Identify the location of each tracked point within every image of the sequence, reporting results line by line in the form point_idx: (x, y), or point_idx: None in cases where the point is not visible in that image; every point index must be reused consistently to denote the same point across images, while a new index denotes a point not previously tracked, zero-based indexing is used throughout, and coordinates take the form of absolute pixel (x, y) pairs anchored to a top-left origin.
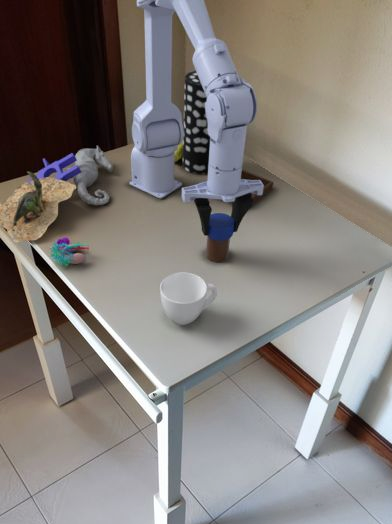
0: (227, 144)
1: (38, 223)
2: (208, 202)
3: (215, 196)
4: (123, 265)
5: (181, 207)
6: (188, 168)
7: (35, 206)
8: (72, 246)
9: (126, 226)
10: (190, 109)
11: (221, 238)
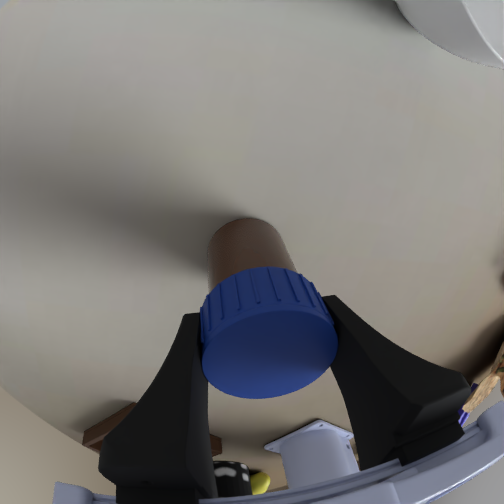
0: None
1: None
2: (401, 441)
3: (423, 491)
4: (476, 234)
5: (285, 407)
6: (242, 468)
7: None
8: None
9: (415, 350)
10: None
11: (271, 272)
